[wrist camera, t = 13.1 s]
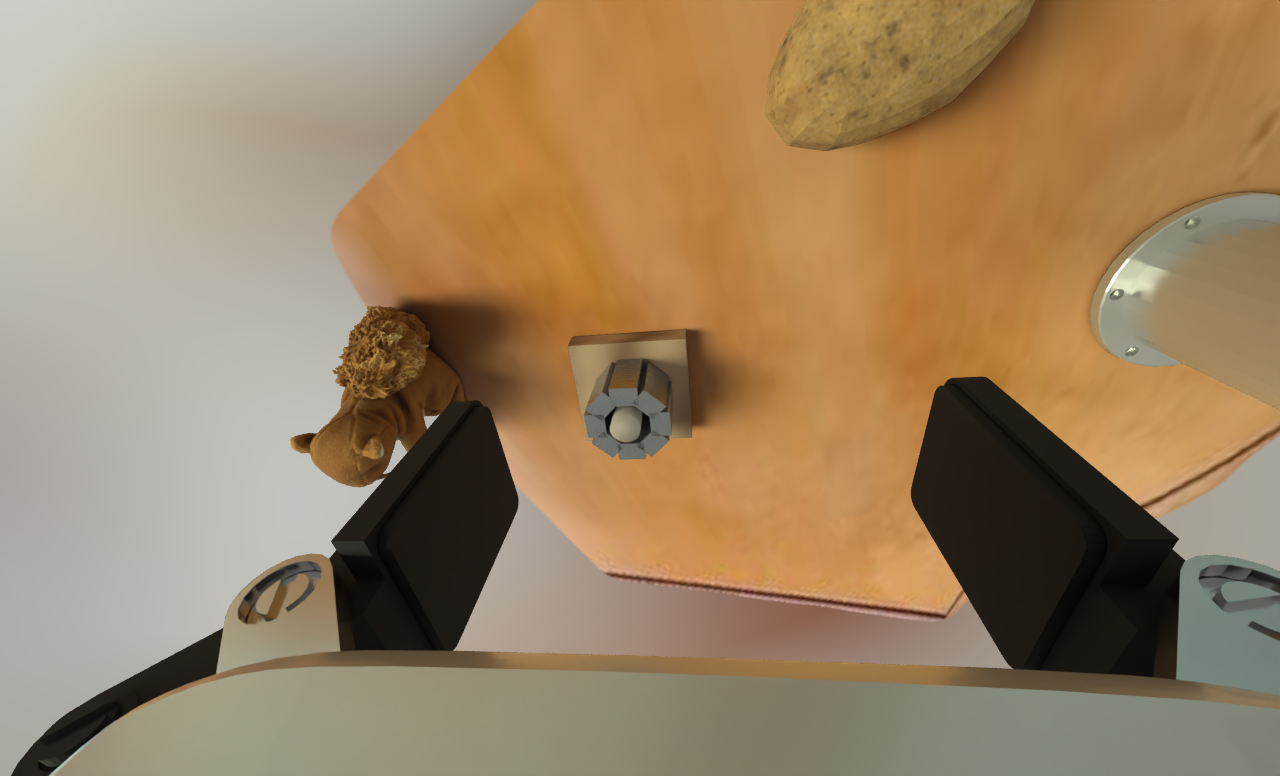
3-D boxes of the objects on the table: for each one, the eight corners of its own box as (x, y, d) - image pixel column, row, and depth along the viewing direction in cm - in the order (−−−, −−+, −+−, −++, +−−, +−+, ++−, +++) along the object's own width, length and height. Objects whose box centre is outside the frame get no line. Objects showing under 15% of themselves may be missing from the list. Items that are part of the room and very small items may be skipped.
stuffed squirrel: (373, 409, 46) (271, 501, 35) (354, 277, 39) (218, 338, 28) (468, 429, 47) (398, 527, 35) (467, 301, 39) (378, 371, 28)
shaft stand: (685, 329, 39) (685, 370, 32) (691, 425, 44) (692, 477, 37) (572, 336, 40) (550, 377, 34) (590, 429, 45) (574, 479, 39)
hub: (669, 356, 38) (667, 386, 34) (675, 423, 41) (673, 458, 37) (590, 361, 39) (578, 390, 35) (602, 426, 42) (592, 460, 38)
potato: (722, 55, 29) (733, 33, 22) (953, -138, 24) (1058, -243, 17) (792, 189, 33) (819, 206, 26) (1005, 45, 28) (1111, 18, 21)
